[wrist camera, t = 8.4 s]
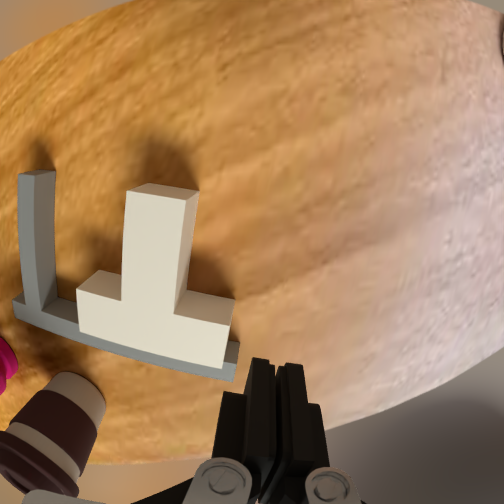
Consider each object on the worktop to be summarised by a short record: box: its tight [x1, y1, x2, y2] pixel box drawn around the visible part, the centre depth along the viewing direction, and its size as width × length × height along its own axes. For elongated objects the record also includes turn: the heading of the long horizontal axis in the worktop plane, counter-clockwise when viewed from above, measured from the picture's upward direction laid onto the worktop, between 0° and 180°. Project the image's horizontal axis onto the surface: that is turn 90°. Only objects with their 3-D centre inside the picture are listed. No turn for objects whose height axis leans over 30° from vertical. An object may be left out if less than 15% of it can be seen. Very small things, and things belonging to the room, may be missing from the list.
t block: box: [76, 183, 235, 369], centre depth 23 cm, size 12×12×4 cm
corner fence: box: [12, 169, 240, 382], centre depth 24 cm, size 22×14×3 cm, turn 79°
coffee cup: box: [0, 372, 106, 498], centre depth 24 cm, size 10×10×15 cm
